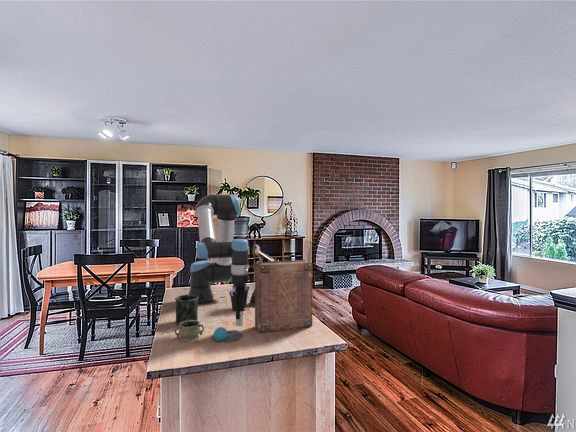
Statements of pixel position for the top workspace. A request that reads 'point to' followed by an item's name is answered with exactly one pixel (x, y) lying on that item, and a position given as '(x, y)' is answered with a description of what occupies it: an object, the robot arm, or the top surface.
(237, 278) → the robot arm
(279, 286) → the book
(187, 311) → the mug
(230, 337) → the disc
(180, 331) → the vessel
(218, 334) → the ball
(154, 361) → the top surface
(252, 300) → the bird statue
